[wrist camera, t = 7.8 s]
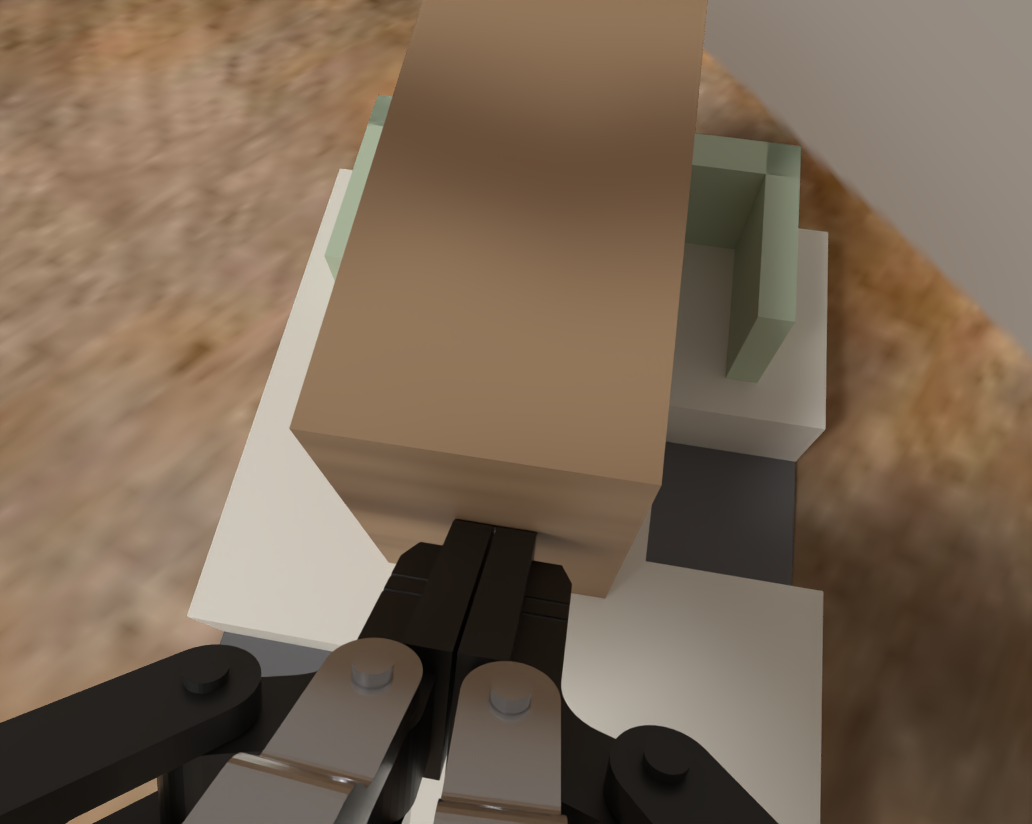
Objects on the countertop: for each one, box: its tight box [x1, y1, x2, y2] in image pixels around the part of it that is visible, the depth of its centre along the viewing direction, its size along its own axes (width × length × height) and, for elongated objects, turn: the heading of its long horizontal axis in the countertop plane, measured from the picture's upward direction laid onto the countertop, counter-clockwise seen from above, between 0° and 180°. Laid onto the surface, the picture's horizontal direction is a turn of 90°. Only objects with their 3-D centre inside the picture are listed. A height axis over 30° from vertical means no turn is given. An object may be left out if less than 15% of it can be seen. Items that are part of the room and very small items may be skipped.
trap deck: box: [187, 95, 828, 824], centre depth 17 cm, size 22×14×6 cm, turn 170°
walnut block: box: [289, 0, 708, 599], centre depth 16 cm, size 10×5×8 cm, turn 171°
